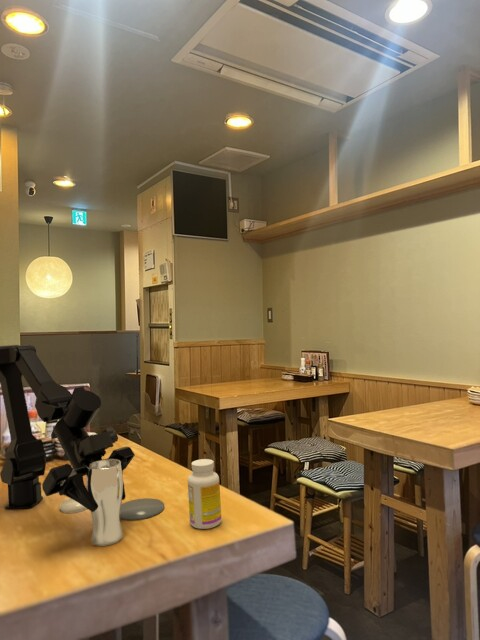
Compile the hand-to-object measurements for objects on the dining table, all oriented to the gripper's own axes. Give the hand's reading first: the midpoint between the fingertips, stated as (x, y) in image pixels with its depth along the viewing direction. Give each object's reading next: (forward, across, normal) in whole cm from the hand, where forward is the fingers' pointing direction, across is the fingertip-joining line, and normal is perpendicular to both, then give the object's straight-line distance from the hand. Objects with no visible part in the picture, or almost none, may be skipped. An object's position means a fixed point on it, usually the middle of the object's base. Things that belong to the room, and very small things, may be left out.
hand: (109, 504), depth 93 cm
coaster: (0, +13, +10) cm, 17 cm away
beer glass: (+4, 0, +6) cm, 7 cm away
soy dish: (-10, +6, +21) cm, 24 cm away
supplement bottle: (+12, +16, -2) cm, 20 cm away
